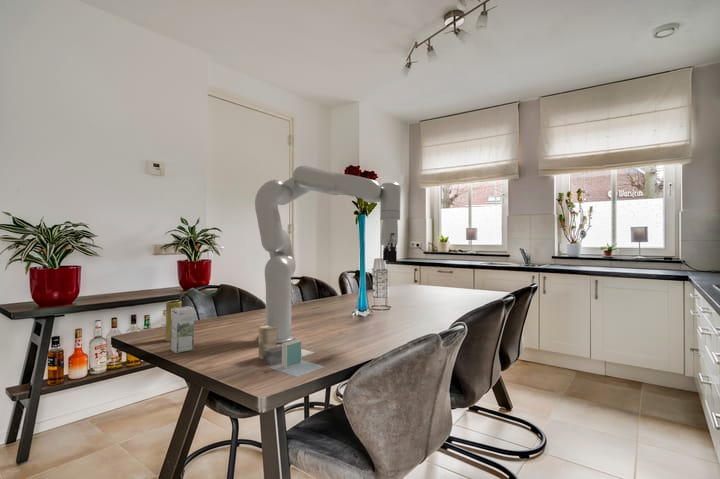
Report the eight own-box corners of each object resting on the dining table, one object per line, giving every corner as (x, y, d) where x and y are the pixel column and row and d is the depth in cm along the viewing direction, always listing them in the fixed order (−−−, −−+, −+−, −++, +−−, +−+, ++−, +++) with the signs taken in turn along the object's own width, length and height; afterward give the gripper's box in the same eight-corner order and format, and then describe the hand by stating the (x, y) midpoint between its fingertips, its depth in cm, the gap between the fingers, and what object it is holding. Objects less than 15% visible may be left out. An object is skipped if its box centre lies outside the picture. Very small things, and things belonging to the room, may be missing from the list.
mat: (269, 368, 113) (269, 367, 113) (297, 359, 122) (297, 358, 122) (297, 378, 106) (297, 376, 106) (325, 367, 114) (325, 366, 114)
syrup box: (187, 347, 135) (187, 305, 135) (194, 350, 131) (194, 307, 131) (170, 350, 131) (170, 307, 131) (176, 354, 127) (176, 310, 127)
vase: (160, 340, 143) (161, 302, 143) (174, 336, 149) (174, 299, 148) (173, 342, 141) (173, 303, 141) (186, 338, 146) (186, 301, 146)
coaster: (286, 354, 127) (286, 352, 127) (299, 350, 132) (299, 348, 132) (300, 358, 123) (300, 356, 123) (314, 354, 128) (314, 352, 128)
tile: (281, 367, 113) (281, 343, 113) (296, 362, 118) (297, 339, 118) (286, 368, 112) (286, 344, 112) (301, 363, 117) (301, 340, 117)
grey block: (253, 360, 121) (253, 328, 121) (271, 354, 127) (271, 324, 127) (271, 366, 116) (271, 332, 116) (289, 360, 121) (289, 328, 121)
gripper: (376, 216, 153) (376, 259, 153) (384, 214, 136) (383, 262, 136) (395, 217, 154) (394, 260, 154) (405, 214, 137) (404, 262, 137)
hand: (389, 261), depth 145 cm, fingers open, 9 cm apart
